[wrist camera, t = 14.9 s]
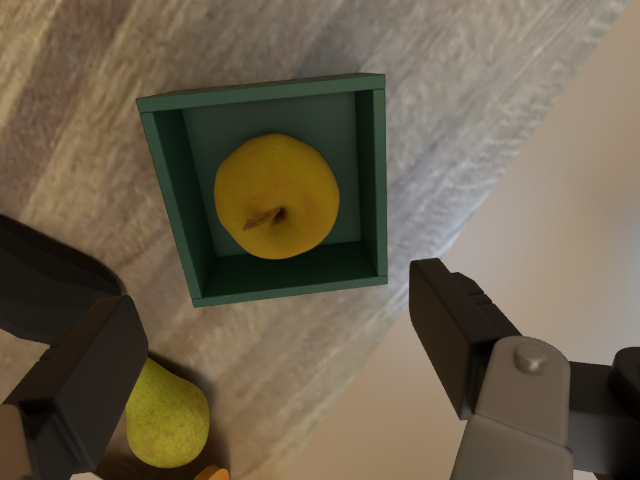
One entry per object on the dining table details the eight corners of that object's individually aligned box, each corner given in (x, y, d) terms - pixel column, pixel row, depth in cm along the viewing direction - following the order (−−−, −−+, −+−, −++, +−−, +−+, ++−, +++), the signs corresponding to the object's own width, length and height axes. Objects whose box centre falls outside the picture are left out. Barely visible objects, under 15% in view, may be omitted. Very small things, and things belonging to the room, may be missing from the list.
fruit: (236, 437, 28) (145, 302, 26) (163, 504, 25) (56, 355, 23) (216, 418, 33) (139, 304, 31) (154, 472, 30) (65, 348, 28)
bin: (169, 91, 21) (134, 98, 16) (362, 72, 22) (385, 73, 17) (210, 262, 26) (193, 308, 21) (368, 243, 27) (388, 284, 22)
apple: (204, 177, 23) (168, 228, 16) (274, 99, 22) (270, 116, 14) (280, 241, 25) (279, 310, 18) (348, 175, 24) (377, 222, 17)
